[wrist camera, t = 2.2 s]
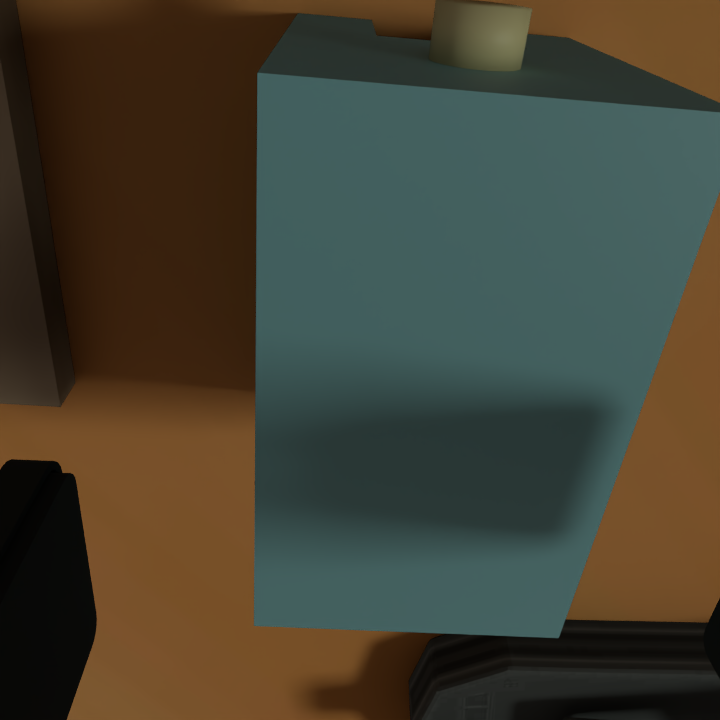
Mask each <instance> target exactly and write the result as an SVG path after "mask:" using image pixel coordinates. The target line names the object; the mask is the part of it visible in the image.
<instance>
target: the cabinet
mask: <svg viewBox="0 0 720 720" xmlns="http://www.w3.org/2000/svg"><path fill="white" fill-rule="evenodd" d="M531 13H532V9H531V8H527V7H523V6H517V5H510V4H503V3H494V2H485V1H475V0H436V2H435V10H434V18H433V26H432V34H431V41H430V40H419V39H408V38H397V37H386V36H376V32H375V29H374V26H373V23H372V20H367V19H356V18H346V17H335V16H324V15H313V14H302V13H298V14H297V16H296V17H295V18H294V20H293V21H292V23H291V24H290V26H289V27H288V29H287V30H286V32H285V33H284V35H283V36H282V38H281V39H280V40H279V42H278V43H277V45H276V46H275V48H274V49H273V51H272V52H271V54H270V55H269V57H268V58H267V59H266V61H265V62H264V64H263V65H262V67H261V68H260V70H259V71H258V73H257V231H256V398H255V566H254V626H271V627H296V628H321V629H345V630H370V631H395V632H420V633H445V634H469V635H494V636H519V637H544V638H559V636H560V633H561V630H562V628H563V625H564V622H565V619H566V616H567V614H568V611H569V608H570V605H571V603H572V600H573V597H574V594H575V591H576V589H577V586H578V583H579V580H580V578H581V575H582V572H583V569H584V566H585V564H586V561H587V558H588V555H589V553H590V550H591V547H592V544H593V541H594V539H595V536H596V533H597V530H598V528H599V525H600V522H601V519H602V516H603V514H604V511H605V508H606V505H607V503H608V500H609V497H610V494H611V491H612V489H613V486H614V483H615V480H616V477H617V475H618V472H619V469H620V466H621V464H622V461H623V458H624V455H625V452H626V450H627V447H628V444H629V441H630V439H631V436H632V433H633V430H634V427H635V425H636V422H637V419H638V416H639V414H640V411H641V408H642V405H643V402H644V400H645V397H646V394H647V391H648V389H649V386H650V383H651V380H652V377H653V375H654V372H655V369H656V366H657V364H658V361H659V358H660V355H661V352H662V350H663V347H664V344H665V341H666V339H667V336H668V333H669V330H670V327H671V325H672V322H673V319H674V316H675V314H676V311H677V308H678V305H679V302H680V300H681V297H682V294H683V291H684V289H685V286H686V283H687V280H688V277H689V275H690V272H691V269H692V266H693V264H694V261H695V258H696V255H697V252H698V250H699V247H700V244H701V241H702V238H703V236H704V233H705V230H706V227H707V225H708V222H709V219H710V216H711V213H712V211H713V208H714V205H715V202H716V200H717V197H718V194H719V191H720V103H719V102H716V101H714V100H712V99H709V98H707V97H705V96H702V95H700V94H698V93H695V92H693V91H691V90H688V89H686V88H684V87H681V86H679V85H677V84H675V83H672V82H670V81H668V80H665V79H663V78H661V77H658V76H656V75H654V74H651V73H649V72H647V71H644V70H642V69H640V68H637V67H635V66H633V65H630V64H628V63H626V62H624V61H621V60H619V59H617V58H614V57H612V56H610V55H607V54H605V53H603V52H600V51H598V50H596V49H593V48H591V47H589V46H586V45H584V44H582V43H580V42H577V41H575V40H573V39H570V38H565V37H554V36H543V35H532V34H528V29H529V23H530V18H531Z"/></svg>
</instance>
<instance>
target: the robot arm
mask: <svg viewBox="0 0 720 720" xmlns="http://www.w3.org/2000/svg"><path fill="white" fill-rule="evenodd" d="M96 622H97V617H96V609H95V602H94V596H93V589H92V582H91V576H90V569H89V563H88V556H87V550H86V543H85V537H84V530H83V524H82V517H81V511H80V504H79V498H78V491H77V485H76V480H75V477H74V475H73V474H71V473H62V470H61V466H60V465H59V463H58V462H55V461H38V460H13V459H11V460H9V461H7V462H6V463H5V464H4V465H3V466H2V468H1V469H0V720H67V717H68V714H69V711H70V708H71V705H72V703H73V700H74V697H75V694H76V691H77V688H78V685H79V682H80V680H81V677H82V674H83V671H84V668H85V665H86V662H87V660H88V657H89V654H90V651H91V648H92V645H93V642H94V637H95V633H96ZM703 640H704V648H705V652H706V654H707V657H708V659H709V661H710V662H711V664H712V666H713V668H714V670H715V672H716V673H717V675H718V677H719V679H720V599H719V601H718V603H717V605H716V607H715V609H714V611H713V613H712V616H711V618H710V620H709V622H708V624H707V626H706V628H705V631H704V638H703Z"/></svg>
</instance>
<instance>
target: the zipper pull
mask: <svg viewBox="0 0 720 720" xmlns="http://www.w3.org/2000/svg"><path fill="white" fill-rule="evenodd" d="M707 624H708V623H696V622H646V621H596V620H565V622H564V625H563V628H562V630H561V633H560V636H559V638H544V637H519V636H494V635H469V634H445V635H442V636H439V637H436V638H433V639H431V640H430V641H429V642H428V644H427V646H426V648H425V650H424V652H423V654H422V656H421V658H420V660H419V662H418V664H417V666H416V668H415V670H414V672H413V674H412V676H411V677H410V680H409V700H410V720H720V679H719V677H718V675H717V673H716V672H715V670H714V668H713V666H712V664H711V662H710V661H709V659H708V657H707V654H706V652H705V648H704V640H703V638H704V631H705V628H706V626H707Z"/></svg>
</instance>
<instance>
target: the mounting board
mask: <svg viewBox="0 0 720 720" xmlns="http://www.w3.org/2000/svg"><path fill="white" fill-rule="evenodd" d="M74 384H75V377H74V371H73V365H72V358H71V352H70V345H69V339H68V332H67V326H66V320H65V313H64V307H63V300H62V294H61V287H60V281H59V275H58V268H57V262H56V255H55V249H54V242H53V236H52V230H51V223H50V217H49V210H48V204H47V197H46V191H45V185H44V178H43V172H42V165H41V159H40V152H39V146H38V140H37V133H36V127H35V120H34V114H33V108H32V101H31V95H30V88H29V82H28V75H27V69H26V63H25V56H24V50H23V43H22V37H21V30H20V24H19V18H18V11H17V5H16V0H0V403H3V404H20V405H38V406H55V407H61V405H62V403H63V402H64V400H65V399H66V397H67V395H68V394H69V392H70V390H71V389H72V387H73V386H74Z"/></svg>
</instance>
